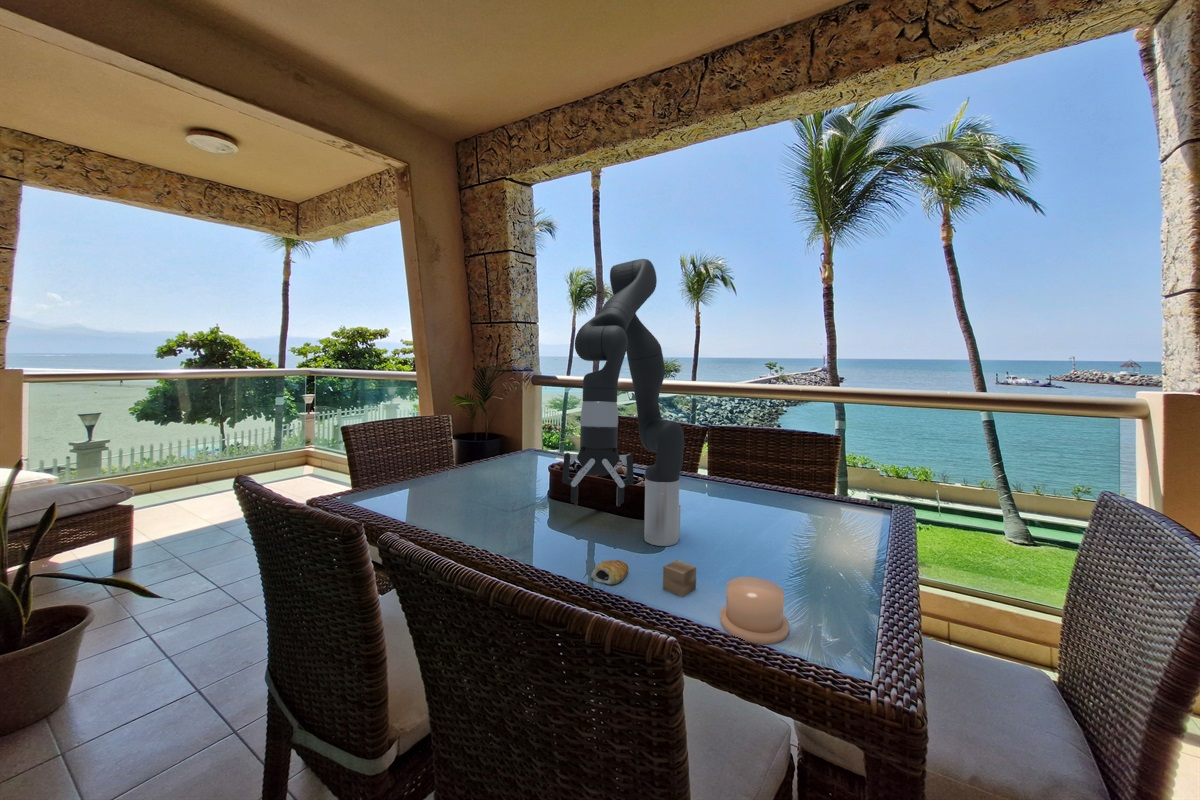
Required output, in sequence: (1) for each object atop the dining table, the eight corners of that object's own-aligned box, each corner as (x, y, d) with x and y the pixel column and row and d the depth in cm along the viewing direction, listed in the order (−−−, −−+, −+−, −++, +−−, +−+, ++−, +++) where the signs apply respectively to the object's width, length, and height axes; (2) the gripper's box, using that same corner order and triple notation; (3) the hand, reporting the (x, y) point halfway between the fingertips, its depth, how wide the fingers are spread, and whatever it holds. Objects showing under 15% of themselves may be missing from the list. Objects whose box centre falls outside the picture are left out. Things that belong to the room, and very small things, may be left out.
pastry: (610, 566, 113) (611, 550, 113) (635, 573, 109) (636, 557, 109) (588, 580, 105) (589, 564, 105) (614, 589, 102) (615, 571, 101)
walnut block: (676, 581, 105) (676, 560, 104) (695, 589, 101) (696, 566, 101) (662, 589, 101) (663, 566, 101) (682, 597, 98) (682, 573, 97)
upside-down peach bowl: (739, 602, 96) (740, 569, 95) (799, 625, 87) (800, 589, 87) (707, 625, 87) (708, 588, 87) (770, 653, 79) (772, 613, 78)
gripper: (632, 425, 99) (630, 502, 98) (564, 423, 98) (562, 501, 98) (636, 426, 91) (634, 510, 91) (562, 424, 91) (560, 508, 90)
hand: (597, 505), depth 94 cm, fingers open, 8 cm apart
